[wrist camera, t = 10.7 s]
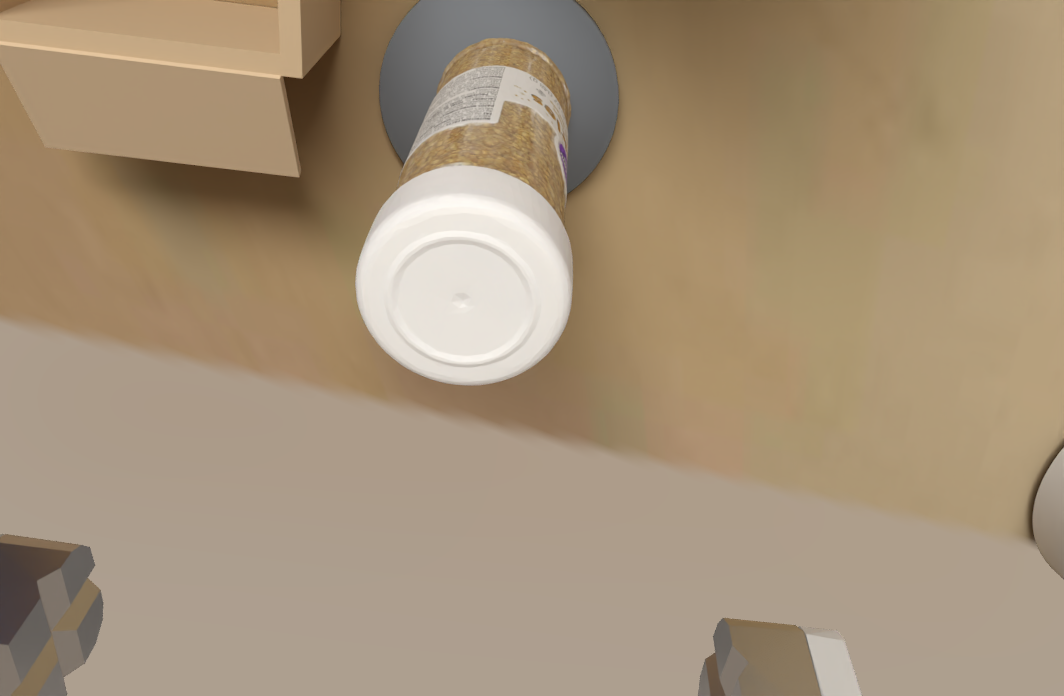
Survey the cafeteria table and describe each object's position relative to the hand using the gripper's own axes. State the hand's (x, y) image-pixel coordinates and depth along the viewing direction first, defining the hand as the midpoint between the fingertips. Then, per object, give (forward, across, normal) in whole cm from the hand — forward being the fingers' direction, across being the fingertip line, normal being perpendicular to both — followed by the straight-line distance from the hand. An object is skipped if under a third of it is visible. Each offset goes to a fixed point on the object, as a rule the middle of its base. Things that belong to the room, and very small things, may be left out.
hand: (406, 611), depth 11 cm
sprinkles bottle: (+21, 0, 0) cm, 21 cm away
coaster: (+22, 0, 0) cm, 22 cm away
